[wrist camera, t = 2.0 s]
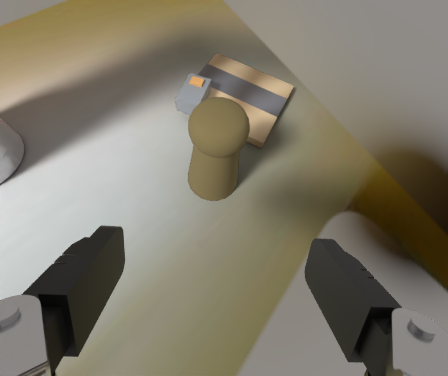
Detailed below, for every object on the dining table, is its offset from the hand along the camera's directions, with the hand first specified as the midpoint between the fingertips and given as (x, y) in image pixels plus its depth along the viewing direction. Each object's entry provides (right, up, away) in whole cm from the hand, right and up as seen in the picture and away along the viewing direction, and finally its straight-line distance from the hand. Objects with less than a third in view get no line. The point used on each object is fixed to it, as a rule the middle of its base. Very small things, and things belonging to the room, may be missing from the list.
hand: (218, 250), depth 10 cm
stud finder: (-4, +15, +21) cm, 26 cm away
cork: (-1, +4, +18) cm, 19 cm away
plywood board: (+2, +16, +24) cm, 29 cm away
